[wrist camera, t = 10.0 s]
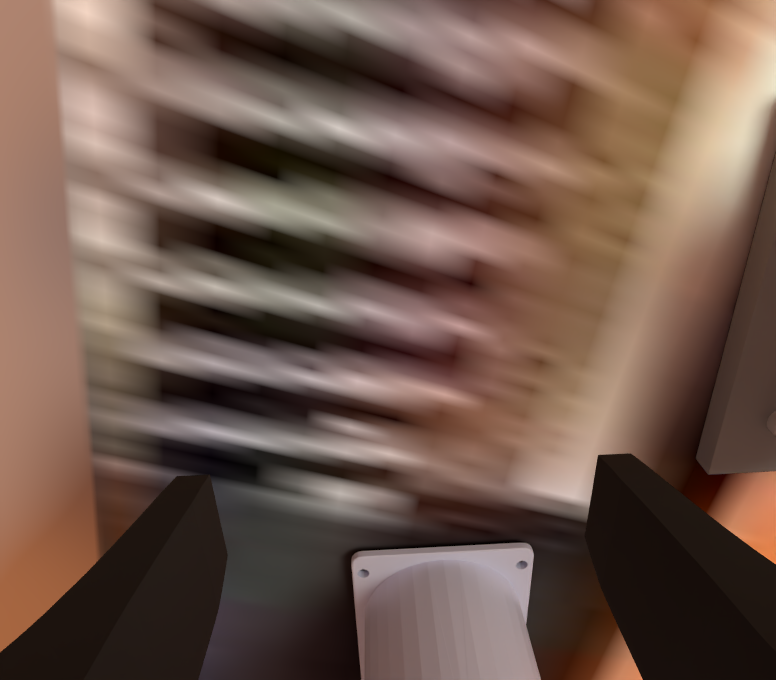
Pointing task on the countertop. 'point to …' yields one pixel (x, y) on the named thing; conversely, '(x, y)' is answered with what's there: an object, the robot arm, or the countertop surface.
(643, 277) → the countertop surface
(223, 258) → the countertop surface
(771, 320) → the peg stand
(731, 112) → the countertop surface
